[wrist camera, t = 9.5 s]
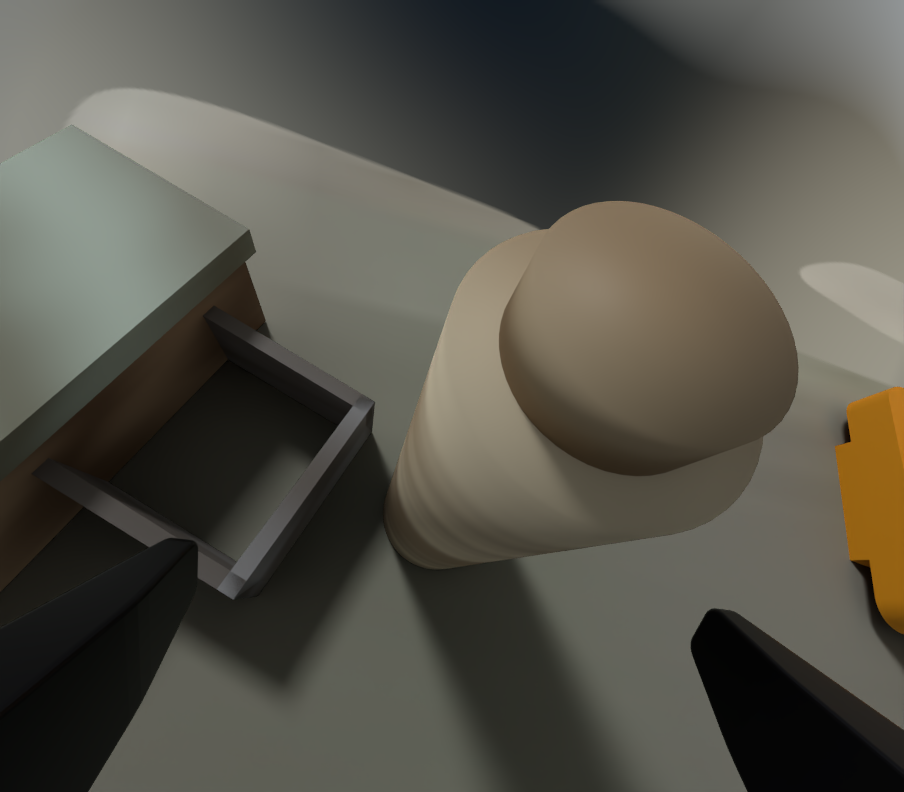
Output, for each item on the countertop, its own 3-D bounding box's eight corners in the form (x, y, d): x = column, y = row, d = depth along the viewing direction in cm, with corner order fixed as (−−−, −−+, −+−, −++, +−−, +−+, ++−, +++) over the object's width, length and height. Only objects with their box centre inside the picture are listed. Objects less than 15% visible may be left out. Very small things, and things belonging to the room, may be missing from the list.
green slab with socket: (99, 824, 11) (-83, 995, 6) (-293, 568, 11) (-730, 558, 7) (398, 392, 17) (413, 326, 13) (144, 240, 18) (72, 124, 13)
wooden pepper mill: (458, 591, 15) (839, 625, 3) (361, 532, 15) (379, 351, 3) (505, 493, 17) (861, 280, 5) (418, 441, 17) (562, 111, 5)
